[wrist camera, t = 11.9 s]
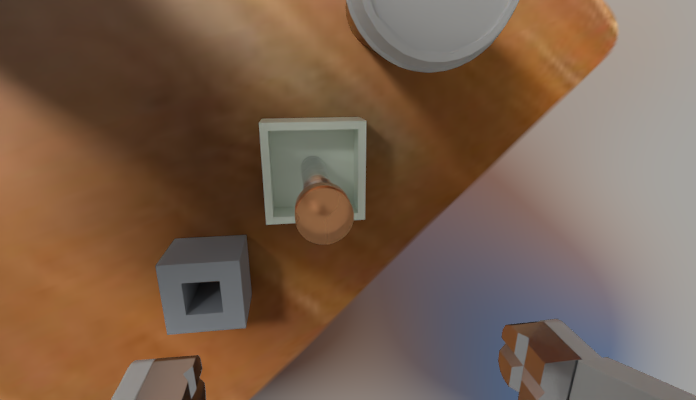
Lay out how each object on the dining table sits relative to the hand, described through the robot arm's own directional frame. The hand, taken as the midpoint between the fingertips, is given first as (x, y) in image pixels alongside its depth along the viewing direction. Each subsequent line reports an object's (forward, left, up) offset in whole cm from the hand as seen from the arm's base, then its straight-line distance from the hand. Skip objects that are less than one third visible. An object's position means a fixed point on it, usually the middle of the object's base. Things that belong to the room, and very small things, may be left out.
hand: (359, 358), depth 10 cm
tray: (0, 0, -24) cm, 24 cm away
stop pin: (0, 0, -23) cm, 23 cm away
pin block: (+9, -9, -24) cm, 27 cm away
